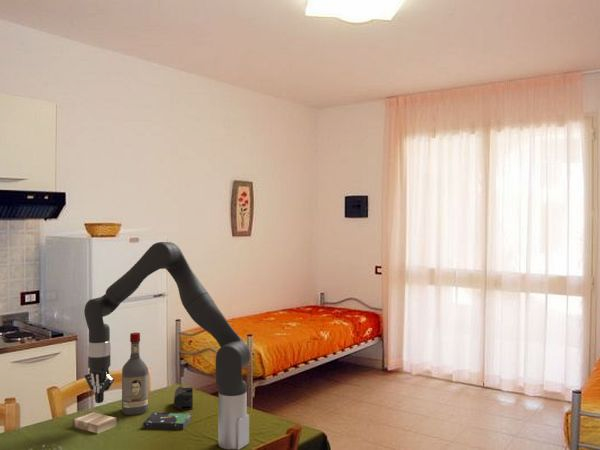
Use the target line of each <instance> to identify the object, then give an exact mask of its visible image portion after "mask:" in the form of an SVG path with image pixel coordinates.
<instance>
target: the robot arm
mask: <svg viewBox="0 0 600 450" xmlns="http://www.w3.org/2000/svg"><path fill="white" fill-rule="evenodd" d="M164 269H165V270H166V271H167V273H169V274H170V276H171V278H172V279H173V280H174V282H175V283H176V286H177V289H178V294H179V299H180V301H181V304H182V306H183V308H184V309H185V311H186V312H187V313H188V315H189V317H190V318H191V320H192V321H193V322H194V323H195V324H196V325H197V326H199V327H200V328H202V329H203V330H205V331H206V332H207V333H208V334H210V336H212V337H213V338H214V339H215V340H216V343H218V345H219V347H220V348H219V349H218V350H217V352H216V355H215V381H216V386H217V388H218V408H217V409H218V419H217V420H218V421H217V422H218V423H217V427H218V430H217V431H218V432H217V433H218V436H217V437H218V446H219V448H221V449H224V450H241V449H243V448H244V447H246V446H247V445H249V443H250V415H249V414H248V411H247V410H248V409H247V407H248V406H247V405H248V404H247V402H248V401H247V398H248V397H247V396H248V395H247V393H248V392H247V391H248V389H247V387H248V385H247V382H246V381H245V380H243V370H242V368H245V367H246V366H247V365H248V364H249V362H250V360H251V351H250V348H249V347H248V344H246V342H245V341H244V340H243V338H241V337H240V335H239V334H238V333H237V332H236V331H235V330H234V328H233V327H232V326H231V324H230V323H229V322H228V320H227V319H226V317H225V316H224V314H223V312H221V310H220V309H219V307H218V306H217V304H216V303H215V301H214V299H213V298H212V296H211V295H210V294H209V292H208V291H207V289H206V288H205V286H204V285H203V284H202V283H201V281H200V280H199V278H198V277H197V275H196V274H195V272H194V271H193V269H192V268H191V266H190V264H189V263H188V261H187V259H186V257H185V256H184V254H183V252H182V250H181V248H180V247H179V245H177V244H175V243H174V242H171V241H166V242H165V241H159V242H155V243H153V244H152V245H150V247H149V248H148V249H147V250H146V251H145V252H144V254H142V256H141V257H140V259H138V260H137V262H135V264H133V266H132V267H131V268H129V269H128V271H126V273H124V274H123V275H122V276H120V277H119V278H118V279H117V280H116V281H114V282H113V283H112V284H111V285H110V286H108V287H107V288H106V290H105V294H103V295H102V296H99V297H96V298H91V299H89V300H88V301H87V302H86V303H85V306H84V309H83V310H84V318H85V322H86V326H87V329H88V346H87V368H88V369H89V371H88V373H87V374H84V378H85V380H86V382H87V385H88V387H89V389H90V390H91V391H92V390H93V393H94V402H95V403H96V404H102V403H103V402H104V399H105V398H104V397H105V396H104V395H105V394H104V392H106V391H108V390H109V389H110V387H111V386H112V384H113V382H114V381H115V378H114V377H111V376H110V371H109V368H110V367H111V339H110V338H111V336H110V334H111V332H110V325H109V324H107V323H105V321H104V319H103V318H104V317H107V316H109V315H110V314H112V313H113V312H115V310H116V309H117V308H118V307H119V306H120V304H122V302H124V301H125V300H127V299H128V298H129V297H130V296H132V295H133V294H134V293H135V292H136V291H137V290H138V289H139V287H140V286H141V285H142V283H143V282H144V281H145V279H147V277H149V276H150V275H151V274H153V273H155V272H157V271H159V270H164Z"/></svg>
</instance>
